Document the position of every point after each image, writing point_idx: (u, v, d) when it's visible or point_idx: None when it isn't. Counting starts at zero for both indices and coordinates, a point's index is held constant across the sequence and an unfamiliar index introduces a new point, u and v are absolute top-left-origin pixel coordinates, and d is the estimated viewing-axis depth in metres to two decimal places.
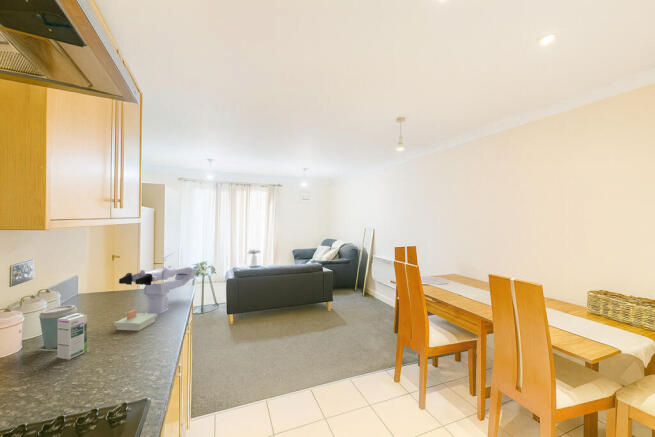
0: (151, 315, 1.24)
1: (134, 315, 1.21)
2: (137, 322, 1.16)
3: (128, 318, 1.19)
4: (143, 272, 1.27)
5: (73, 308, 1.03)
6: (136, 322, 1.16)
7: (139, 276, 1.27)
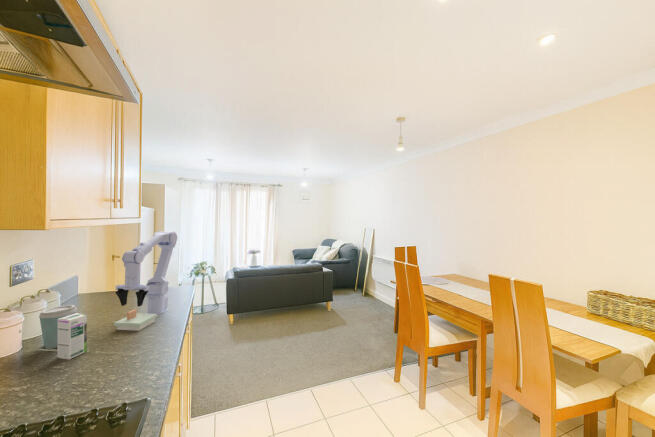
0: (151, 315, 1.24)
1: (134, 315, 1.21)
2: (137, 322, 1.16)
3: (128, 318, 1.19)
4: (128, 289, 1.18)
5: (73, 308, 1.03)
6: (136, 322, 1.16)
7: None
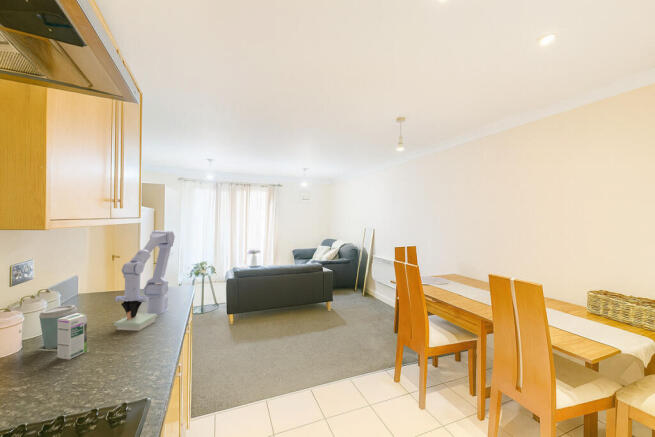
0: (151, 315, 1.24)
1: None
2: (137, 322, 1.16)
3: (128, 318, 1.19)
4: (128, 300, 1.18)
5: (73, 308, 1.03)
6: (136, 322, 1.16)
7: None
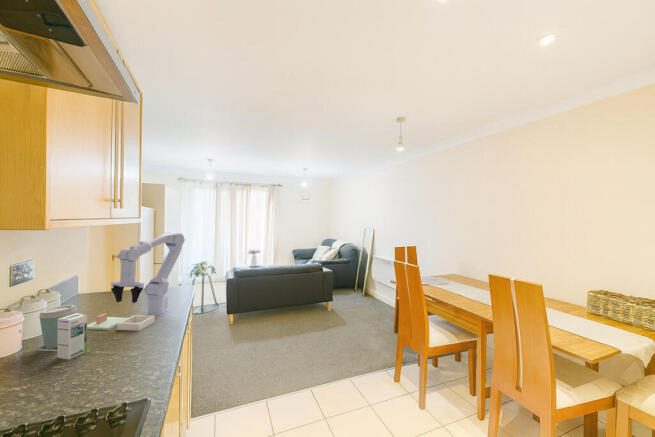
0: (122, 319, 1.24)
1: (104, 319, 1.22)
2: (106, 326, 1.16)
3: (98, 322, 1.19)
4: (124, 286, 1.20)
5: (73, 308, 1.03)
6: (105, 326, 1.16)
7: None
